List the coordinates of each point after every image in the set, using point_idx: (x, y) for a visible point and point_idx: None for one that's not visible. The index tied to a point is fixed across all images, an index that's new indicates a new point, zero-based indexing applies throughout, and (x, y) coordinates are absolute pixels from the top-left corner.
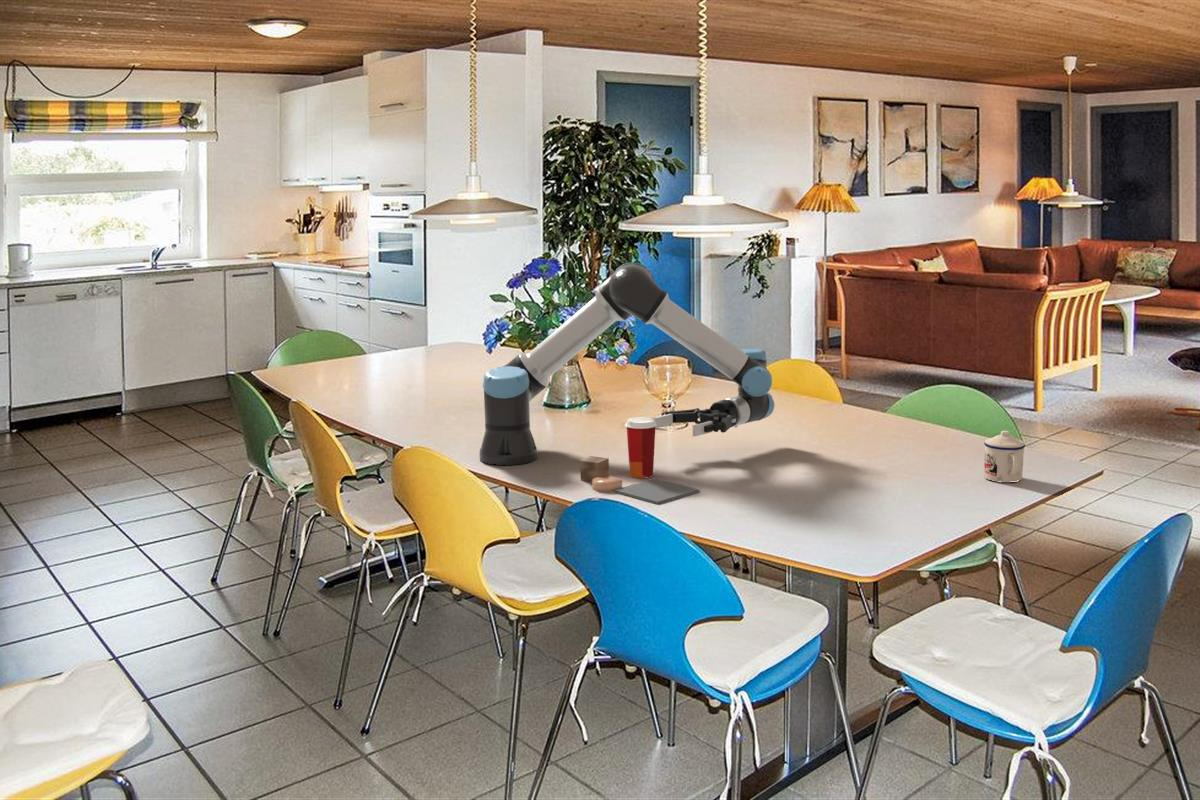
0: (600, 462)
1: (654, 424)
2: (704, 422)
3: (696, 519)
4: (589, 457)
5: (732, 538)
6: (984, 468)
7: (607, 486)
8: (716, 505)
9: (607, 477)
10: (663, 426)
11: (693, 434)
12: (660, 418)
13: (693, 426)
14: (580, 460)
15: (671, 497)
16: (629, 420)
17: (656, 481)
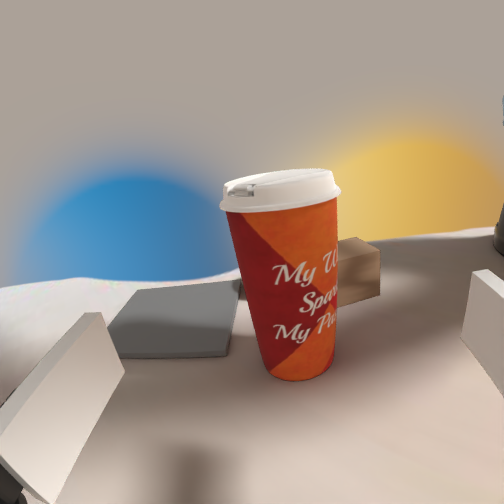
0: None
1: (225, 201)
2: (32, 389)
3: (71, 293)
4: (368, 246)
5: (33, 286)
6: None
7: None
8: (51, 328)
9: None
10: (498, 388)
11: (116, 363)
12: (500, 309)
13: (96, 317)
14: (355, 237)
15: (124, 306)
16: (299, 169)
17: (204, 337)
